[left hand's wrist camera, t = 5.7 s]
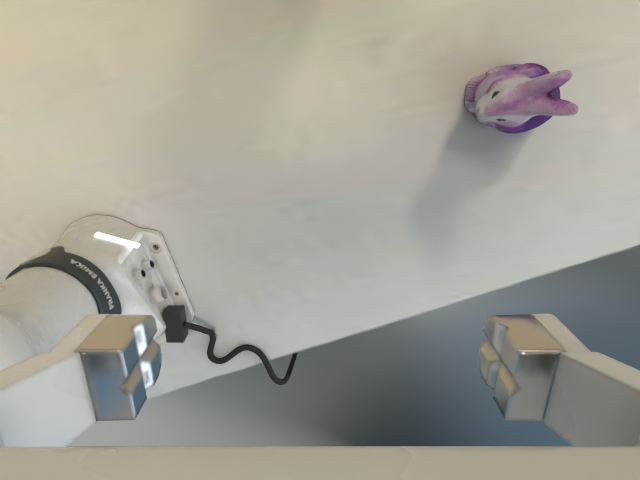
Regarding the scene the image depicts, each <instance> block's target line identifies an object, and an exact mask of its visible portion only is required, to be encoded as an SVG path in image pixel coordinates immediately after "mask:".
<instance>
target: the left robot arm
mask: <svg viewBox="0 0 640 480" xmlns="http://www.w3.org/2000/svg"><path fill="white" fill-rule="evenodd" d="M156 332H157V326H156V321H155V318H154V317H153V316H152V315H128V314H90V315H86V316H85V317H84V318H83V319H82V320H81V321H80V322H79V323H78V324H77V325H76V326H75V327H74V328H73V329H72V330H71V331H70V332H69V333H68V334H67V335H66V336H65V337H64V338H63V339H62V340H61V341H60V342H59V343H58V344H57V345H56V346H55V347H54V348H53V349H52V350H51V351H50V352H42V353H39V354H37V355H35V356H32V357H30V358H28V359H26V360H23V361H21V362H19V363H17V364H14V365H12V366H10V367H7V368H5V369H3V370H1V371H0V480H640V371H639V370H637V369H635V368H632V367H630V366H628V365H626V364H623V363H621V362H619V361H617V360H614V359H612V358H610V357H608V356H605V355H603V354H601V353H598V352H590V351H589V350H588V349H587V348H586V347H585V346H584V345H583V344H582V343H581V342H580V341H579V340H578V339H577V338H576V337H575V336H574V335H573V334H572V333H571V332H570V331H569V330H568V329H567V328H566V327H565V326H564V325H563V324H562V323H561V322H560V321H559V320H558V319H557V318H556V317H555V316H554V315H551V314H529V315H528V314H527V315H490V316H487V317H486V319H485V321H484V325H483V332H484V334H485V335H486V337H487V340H486V341H485V342H484V343H483V344H482V345H481V346H480V350H479V369H480V372H481V376H482V378H483V380H484V382H485V384H486V385H487V386H488V387H490V388H491V389H493V390H494V391H495V392H494V397H493V399H494V401H495V402H496V404H497V406H498V408H499V410H500V411H501V413H502V415H503V417H504V419H505V420H530V421H544V423H545V424H546V425H547V426H548V427H550V428H551V429H552V430H554V431H555V432H556V433H557V434H559V435H560V436H561V437H562V438H564V439H565V440H566V441H568V442H569V443H570V444H571V445H573V446H523V447H522V446H516V447H515V446H513V447H512V446H507V447H506V446H503V447H502V446H494V447H493V446H489V447H488V446H485V447H484V446H481V447H479V446H470V447H469V446H468V447H465V446H464V447H463V446H459V447H458V446H454V447H452V446H451V447H450V446H448V447H446V446H444V447H443V446H440V447H437V446H435V447H251V446H250V447H249V446H243V447H240V446H239V447H238V446H236V447H235V446H234V447H232V446H231V447H230V446H226V447H225V446H224V447H223V446H222V447H221V446H220V447H219V446H218V447H217V446H215V447H212V446H208V447H206V446H204V447H203V446H199V447H198V446H194V447H193V446H192V447H191V446H188V447H187V446H183V447H178V446H177V447H176V446H175V447H174V446H172V447H171V446H170V447H169V446H159V447H158V446H154V447H153V446H152V447H150V446H149V447H147V446H145V447H144V446H140V447H139V446H125V447H122V446H116V447H115V446H112V447H111V446H104V447H103V446H101V447H100V446H93V447H92V446H90V447H89V446H78V447H76V446H75V447H74V446H69V447H68V446H67V445H69V444H70V443H71V442H73V441H74V440H75V439H76V438H78V437H79V436H80V435H82V434H83V433H84V432H85V431H87V430H88V429H89V428H91V427H92V426H93V425H94V424H96V421H109V420H135V418H136V417H137V415H138V413H139V411H140V410H141V408H142V406H143V404H144V402H145V401H146V399H147V397H146V392H145V391H146V390H147V389H149V388H150V387H152V386H153V385H154V384H155V382H156V380H157V378H158V376H159V372H160V368H161V349H160V346H159V345H158V344H157V343H156V342H155V341H154V339H153V337H154V335H155V334H156Z"/></svg>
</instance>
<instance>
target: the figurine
mask: <svg viewBox="0 0 640 480" xmlns="http://www.w3.org/2000/svg"><path fill="white" fill-rule="evenodd" d="M571 77H572V72H571V71H564V70H563V71H558V72H554V73H550V72H549V71H548V70H547V69H546V68H545V67H544V66H542V65H539V64H535V63H527V64H523V65H522V64H517V65H505V66H500V67H496V68H493V69H492V70H490V71H488V72H487V73H486V74H485V75H484V76H481V77H477V78H474V79H472V80H471V81H469V82H468V85H467V87H466V94H465V95H466V96H465V107H466V108H467V110H469V111H470V112H472V113H474V114H475V117H476V119H477V120H478V121H479V122H480V123H483V124H486V125H488V126H492V127H495V128H497V129H498V130H500V131H502V132H505V133H520V132H525V131H528V130H531V129H534V128H536V127H538V126H540V125H542V124H543V123H545V122H546V121H547V120H549V119H550V118H551V117H552V116H570V115H574V114H576V113H577V112H578V107H577V106H576V105H575V104H574V103H571V102H569V101H566V100H562V99H560V90H559V87H561V86H562V85H563V84H564V83H566V82H567V81H568V80H569V79H571Z"/></svg>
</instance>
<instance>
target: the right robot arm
mask: <svg viewBox="0 0 640 480" xmlns="http://www.w3.org/2000/svg"><path fill="white" fill-rule="evenodd" d="M155 245H158V247H159V248H156V247H155ZM90 314H128V315H152V316H153V317H154V318H155V321H156V326H157V332H156V334H155V335H154V337H153V339H154V341H155V342H156V343H157V344H158V345H159V344H161V343H163V342H179V343H183V342H184V341H185V339H186V337H187V335H188V329H187V328H189V329H192V330H196V331H199V332H202V333H205V334H208V335H209V336H210V342H209V346H208V350H207V355H208V358H209V359H210V361H212V362H214V363H216V364H222V363H225V362H227V361H229V360H230V359H231V358H233V357H234V356H235V355H237V354H238V353H240V352H241V351H244V350H249V351H252V352H254V353H255V354H257V355H258V356H259V357H260V359H261V360H262V362H263V364H264V366H265V368H266V370H267V372H268V374H269V376H270V378H271V379H272V380H273V381H274V382H275V383H276V384H279V385H283V384H286V383H287V381H288V380H289V378H290V376H291V373H292V370H293V367H294V364H295V361H296V357H297V353H298V352H295V353H293V354H292V358H291V361H290V364H289V367H288V369H287V372H286V375H285V377H284V378H283V379H278V378H277V377H276V375H275V374H274V372H273V370H272V367H271V365H270V363H269V361H268V359H267V358H266V356H265V355H264V353H263V352H262V351H261V350H260V349H258V348H256V347H254V346H252V345H242V346H239V347H237V348H236V349H234V350H233V351H232V352H230V353H229V354H228V355H227V356H225V357H223V358H216V357H215V356H214V355H213V348H214V344H215V340H216V336H215V333H214V331H213V330H211V329H208V328H205V327H202V326H199V325H196V324H192V323H191V321H192V320H193V318H194V316H195V313H194V310H193V308H192V305H191V303H190V300H189V298H188V296H187V293H186V291H185V289H184V286H183V284H182V281H181V279H180V277H179V274H178V272H177V269H176V267H175V265H174V262H173V260H172V257H171V255H170V253H169V250H168V248H167V246H166V243H165V241H164V238H163V236H162V235H161V233H159V232H158V231H155V230H151V229H145V228H138V227H136V226H133V225H132V224H130V223H128V222H126V221H124V220H121V219H119V218H115V217H112V216H106V215H92V216H87V217H83V218H81V219H79V220H77V221H75V222H73V223H72V224H71V225H70V226H69V227H68V228H67V229H66V230H65V231H64V233H63V235H62V236H61V238H60V239H59V240H58V242H57V243H56V244H55V245H54V246H52V247H51V248H50V249H46V250H44V251H42V252H40V253H38V254H36V255H35V256H33V257H31V258H30V259H28V260H26V261H25V262H23V263H22V264H20V265H19V267H18V268H16V269H15V270H13V271H12V272H11V273H10V274H9V275H8V276H7V277H6V279H5V280H4V281H3V282H1V283H0V371H1V370H3V369H5V368H7V367H10V366H12V365H14V364H17V363H19V362H21V361H23V360H26V359H28V358H30V357H32V356H35V355H37V354H39V353H42V352H50V351H51V350H52V349H53V348H54V347H55V346H56V345H57V344H58V343H59V342H60V341H61V340H62V339H63V338H64V337H65V336H66V335H67V334H68V333H69V332H70V331H71V330H72V329H73V328H74V327H75V326H76V325H77V324H78V323H79V322H80V321H81V320H82V319H83V318H84V317H85V316H86V315H90Z"/></svg>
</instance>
